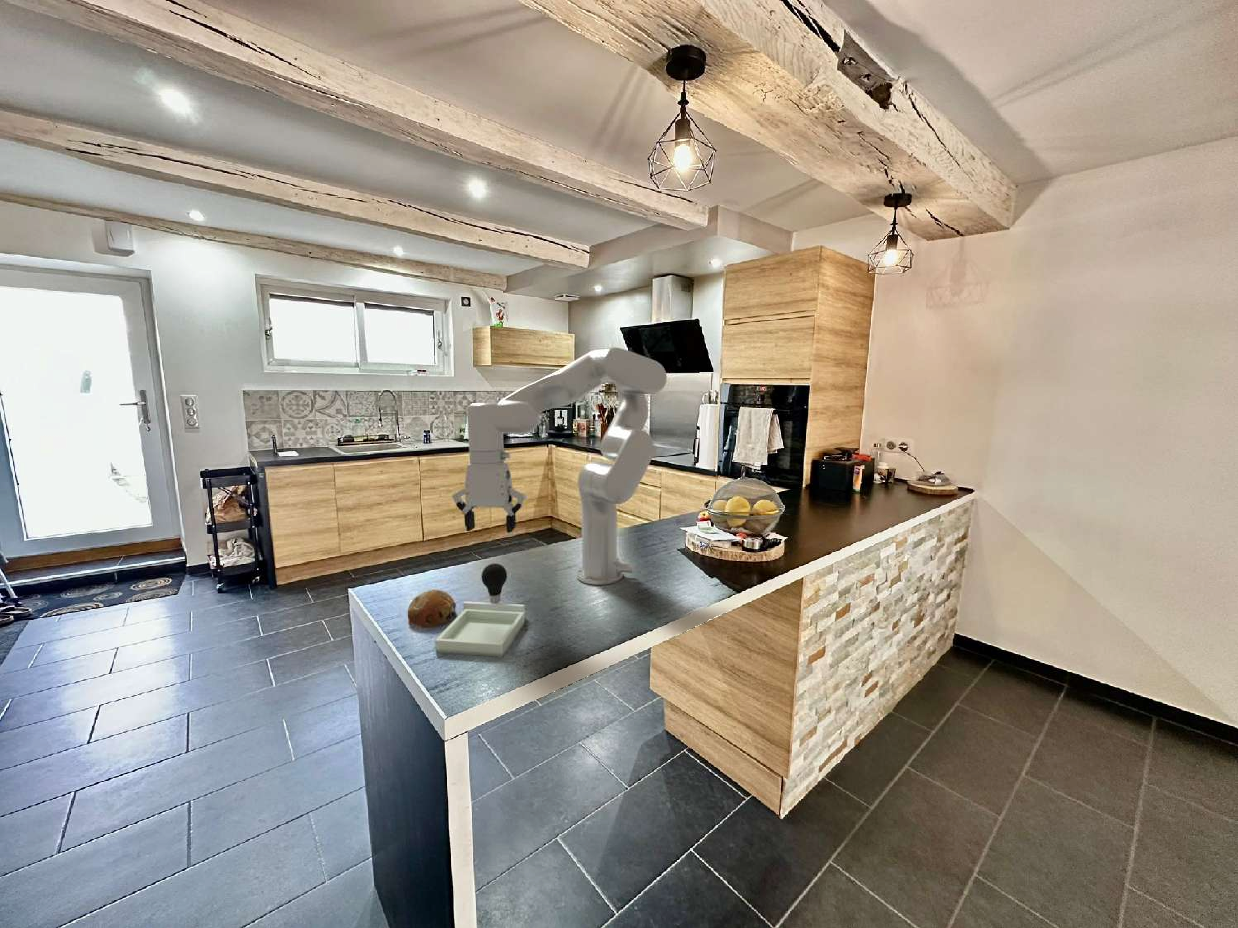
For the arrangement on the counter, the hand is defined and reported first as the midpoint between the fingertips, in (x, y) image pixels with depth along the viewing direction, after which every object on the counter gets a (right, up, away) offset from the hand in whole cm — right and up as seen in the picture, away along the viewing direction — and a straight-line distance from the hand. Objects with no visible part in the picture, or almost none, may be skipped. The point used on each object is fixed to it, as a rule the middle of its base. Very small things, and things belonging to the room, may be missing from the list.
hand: (490, 530), depth 112 cm
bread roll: (-12, -20, -3) cm, 23 cm away
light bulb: (0, -18, +3) cm, 19 cm away
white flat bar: (+2, -19, -3) cm, 19 cm away
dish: (+2, -21, -12) cm, 24 cm away
